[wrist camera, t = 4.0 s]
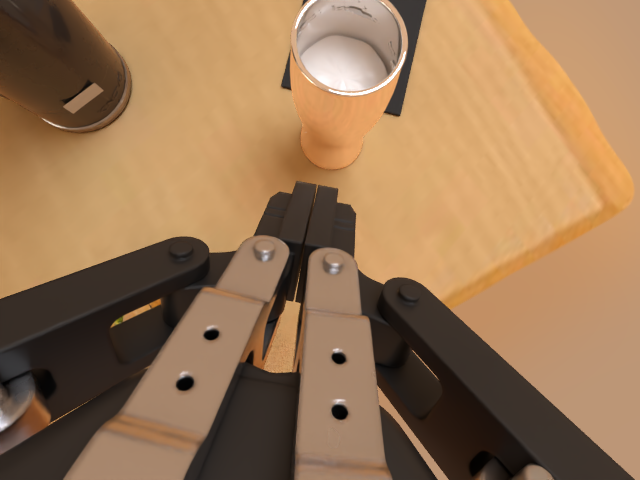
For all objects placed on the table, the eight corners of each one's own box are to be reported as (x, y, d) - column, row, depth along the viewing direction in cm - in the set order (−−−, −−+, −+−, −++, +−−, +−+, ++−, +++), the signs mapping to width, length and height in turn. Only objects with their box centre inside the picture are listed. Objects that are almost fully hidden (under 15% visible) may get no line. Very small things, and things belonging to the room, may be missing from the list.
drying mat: (399, 116, 35) (400, 114, 35) (281, 87, 35) (281, 85, 34) (432, -29, 36) (433, -32, 36) (319, -58, 36) (319, -61, 36)
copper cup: (346, 93, 35) (374, -39, 20) (379, 154, 34) (434, 66, 20) (283, 124, 34) (264, 12, 19) (316, 186, 34) (323, 121, 19)
